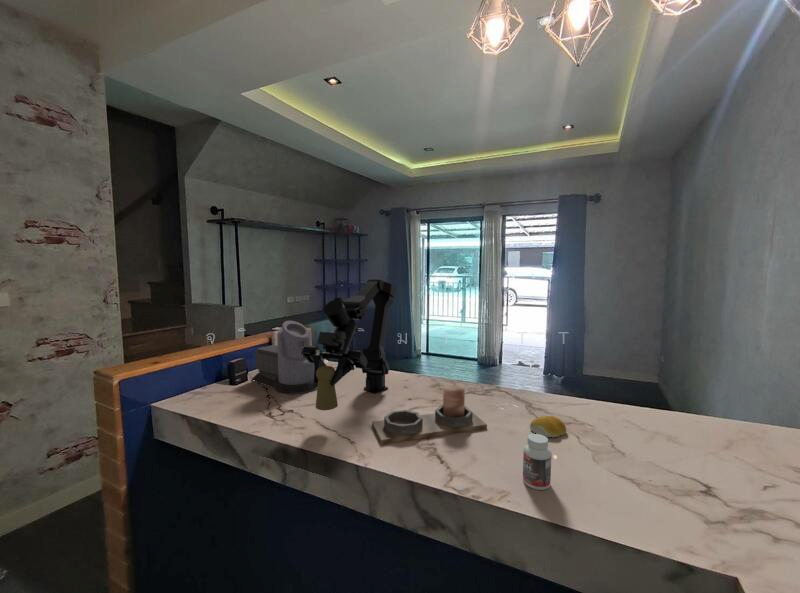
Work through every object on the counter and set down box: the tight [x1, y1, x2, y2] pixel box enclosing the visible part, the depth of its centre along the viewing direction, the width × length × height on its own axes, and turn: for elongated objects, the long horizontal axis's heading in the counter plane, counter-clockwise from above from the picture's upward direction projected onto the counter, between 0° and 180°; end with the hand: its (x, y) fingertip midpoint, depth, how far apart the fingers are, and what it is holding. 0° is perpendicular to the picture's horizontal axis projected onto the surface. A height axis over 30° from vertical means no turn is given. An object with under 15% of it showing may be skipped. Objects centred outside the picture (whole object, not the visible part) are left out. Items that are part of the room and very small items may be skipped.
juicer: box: [251, 320, 318, 396], centre depth 136 cm, size 30×16×24 cm, turn 56°
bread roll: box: [529, 415, 567, 438], centre depth 98 cm, size 8×9×4 cm
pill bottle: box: [522, 433, 552, 491], centre depth 74 cm, size 5×5×10 cm
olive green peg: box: [315, 365, 339, 411], centre depth 99 cm, size 6×6×11 cm
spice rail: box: [371, 384, 488, 445], centre depth 100 cm, size 30×11×10 cm, turn 107°
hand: (323, 384), depth 97 cm, fingers closed on olive green peg, 5 cm apart
